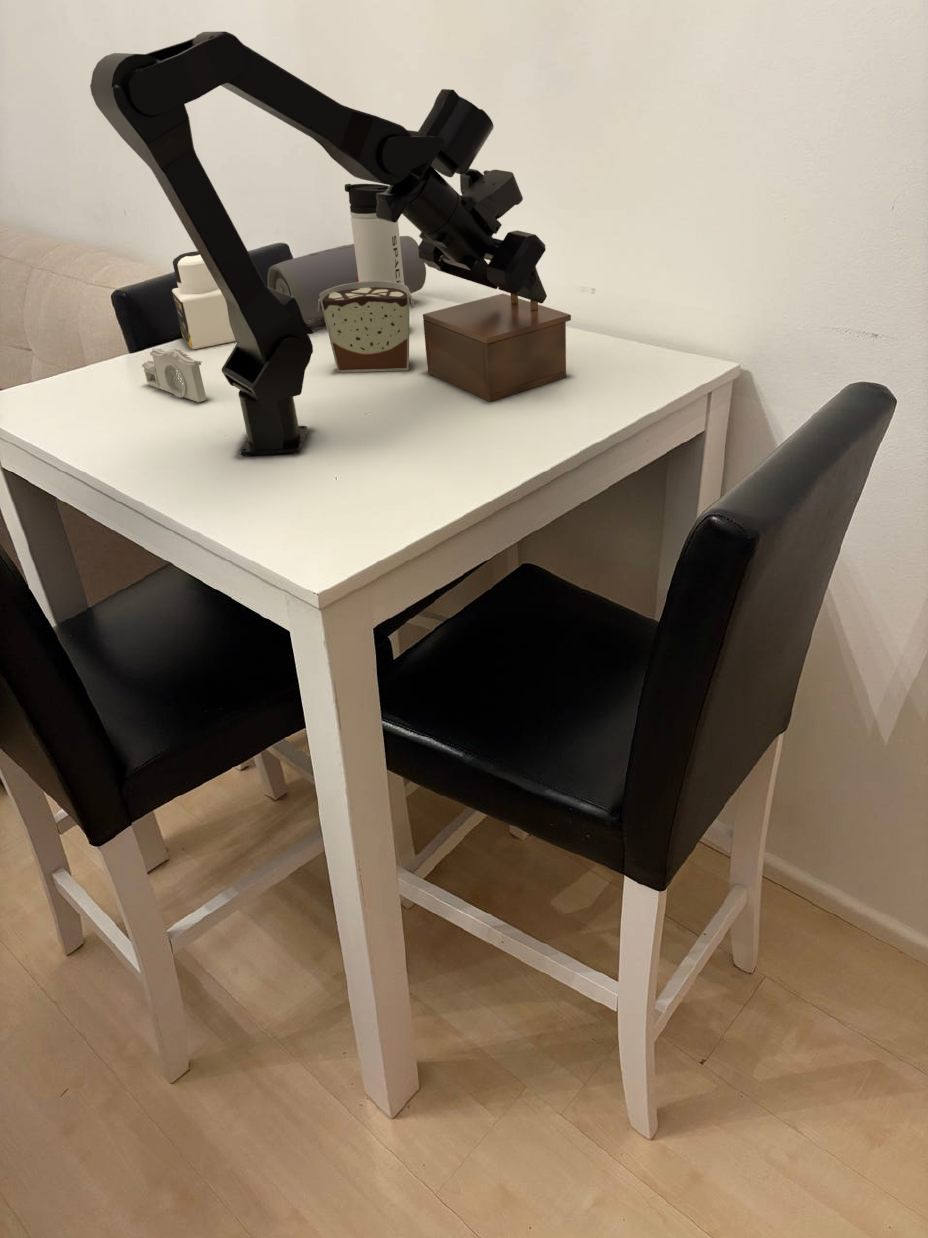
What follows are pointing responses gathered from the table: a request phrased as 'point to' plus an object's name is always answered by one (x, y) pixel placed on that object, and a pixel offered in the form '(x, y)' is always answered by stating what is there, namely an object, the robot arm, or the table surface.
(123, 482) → the table surface
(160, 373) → the grey toy camera
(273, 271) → the bluetooth speaker
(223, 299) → the medicine bottle
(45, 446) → the table surface
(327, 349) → the table surface
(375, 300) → the food container
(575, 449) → the table surface
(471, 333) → the tea box lid
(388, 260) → the travel mug
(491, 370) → the tea box
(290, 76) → the robot arm
